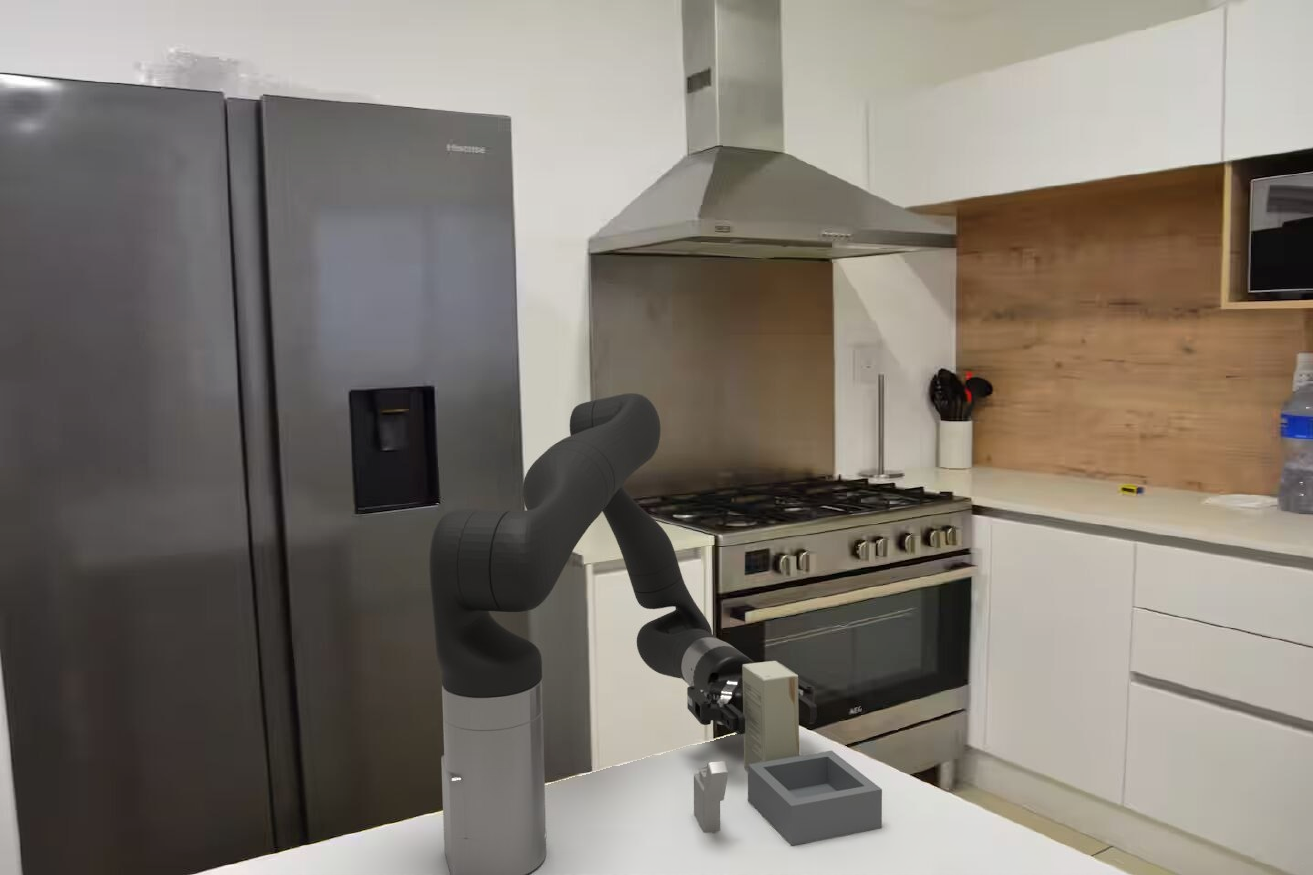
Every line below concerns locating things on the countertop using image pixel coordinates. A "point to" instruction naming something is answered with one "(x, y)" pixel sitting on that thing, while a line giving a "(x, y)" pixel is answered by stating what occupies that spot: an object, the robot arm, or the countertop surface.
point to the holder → (814, 797)
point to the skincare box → (770, 712)
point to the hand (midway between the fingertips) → (778, 720)
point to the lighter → (710, 795)
